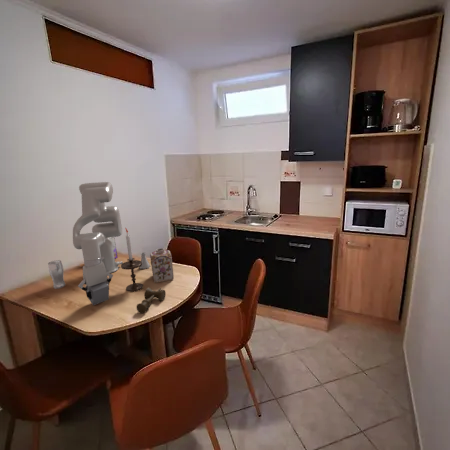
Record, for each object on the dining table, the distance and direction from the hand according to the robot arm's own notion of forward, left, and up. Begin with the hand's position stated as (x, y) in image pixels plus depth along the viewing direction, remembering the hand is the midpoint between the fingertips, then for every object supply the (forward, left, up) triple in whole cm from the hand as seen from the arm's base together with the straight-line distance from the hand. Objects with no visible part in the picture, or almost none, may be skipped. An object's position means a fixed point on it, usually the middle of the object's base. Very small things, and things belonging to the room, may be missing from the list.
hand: (98, 294), depth 136 cm
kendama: (-17, +20, -6) cm, 27 cm away
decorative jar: (-38, -1, -5) cm, 39 cm away
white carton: (-30, -60, -5) cm, 68 cm away
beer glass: (+7, -40, -5) cm, 41 cm away
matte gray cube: (0, -2, -2) cm, 3 cm away
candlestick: (-20, -2, -5) cm, 21 cm away
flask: (-40, -25, -5) cm, 48 cm away
